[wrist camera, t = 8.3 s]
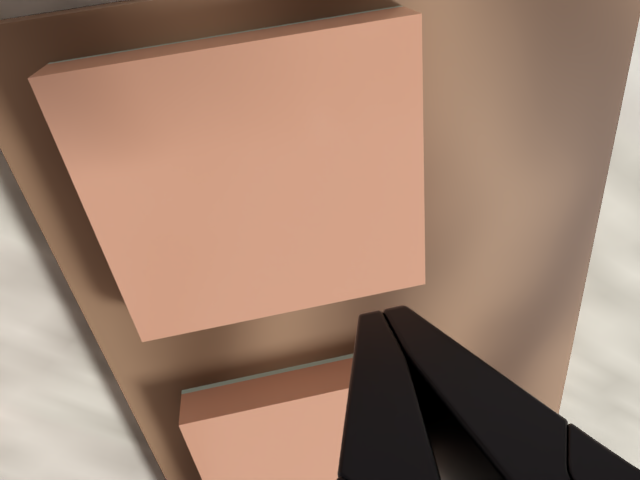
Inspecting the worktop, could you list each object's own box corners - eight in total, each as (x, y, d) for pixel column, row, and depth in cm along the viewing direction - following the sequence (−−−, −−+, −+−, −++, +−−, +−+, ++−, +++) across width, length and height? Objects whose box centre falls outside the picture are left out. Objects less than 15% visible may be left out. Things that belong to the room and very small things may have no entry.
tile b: (409, 256, 17) (148, 309, 17) (401, 5, 13) (49, 62, 12) (425, 283, 16) (142, 342, 15) (422, 13, 12) (27, 78, 11)
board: (191, 504, 24) (190, 528, 23) (-36, 25, 13) (-58, 32, 12) (539, 423, 26) (552, 443, 25) (627, -78, 14) (659, -79, 13)
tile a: (416, 463, 24) (228, 506, 23) (412, 340, 19) (181, 390, 19) (428, 495, 22) (229, 542, 22) (426, 371, 18) (178, 425, 17)
